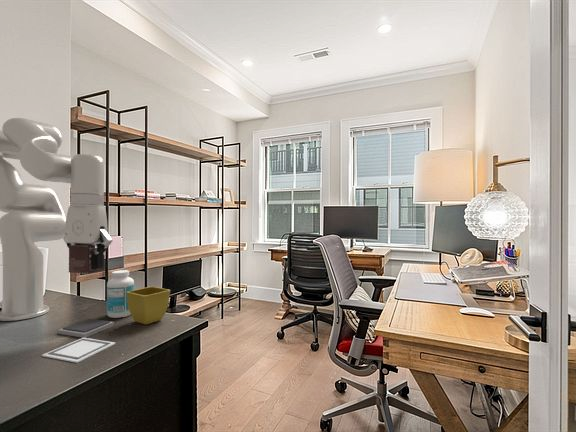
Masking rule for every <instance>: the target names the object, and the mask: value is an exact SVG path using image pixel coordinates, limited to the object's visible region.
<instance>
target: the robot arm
mask: <svg viewBox="0 0 576 432" xmlns="http://www.w3.org/2000/svg"><path fill="white" fill-rule="evenodd" d="M62 142H63V135H62V133H61V132H60V130H59V129H58V128H57V127H56V126H54V125H52V124H48V123H44V122H41V121H36V120H33V119H27V118H23V117H12V118H9V119H6V121H5V122H4V123H3V124H2V127H1V129H0V212H3V213H5V214H3V215H2V216H1V217H0V244H1V252H2V300H1V301H0V307H1V311H0V321H1V322H13V321H20V320H27V319H33V318H37V317H40V316H42V315H45V314H47V313H48V312H50V306H49V305H46V304H44V256H43V253H42V251H41V250H40V249H39V247H38V245H36V244H35V243H38V242H50V241H51V242H52V241H59V240H62V239H63V241H64V243H65V244H66V247H67V248H68V249H69V245H76V244H91V246H92V250H93V253H94V254H92V269H94V270H95V269H100V268H103V264H104V253H105V254H106V252H107V250H108V248H109V246H110V245H111V244H112V243H113V238H111V236H110V235H109V234H108V232H109V231H108V218H107V211H106V207H105V162H104V159H103V157H101V156H98V155H96V154H95V155H93V154H86V153H85V154H84V153H82V154H81V153H80V154H79V153H78V154H75V155H72V156H71V155H65V154H59V153H58V151H59V149H60V147H61V145H62ZM4 158H5V159H4ZM6 159H12V160H19V162H20V165H21V167H22V168H23V169H24V170H25V171H26V172H27V173H28V174H29V175H30V176H32V177H33V178H34V179H36V180H40V181H44V182H53V183H62V184H63V183H66V184H70V205H69V206H68V209H67V212H66V213H65V211H64V208H63V206H62V204H61V201H60V199H59V197H58V196H57V194H56V193H57V192H55V191H54V189H52V188H50V187H49V186H46V185H40V184H31V183H26V182H25V181H24V179H23V177H22V176H21V175H22V174H20V171H19V170H18V169H17V168H16V167H15V166H14V165H13V164H11V163H10V161H8V160H6ZM97 245H99V247H98V248H97Z"/></svg>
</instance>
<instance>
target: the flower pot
mask: <svg viewBox="0 0 576 432" xmlns="http://www.w3.org/2000/svg"><path fill="white" fill-rule="evenodd" d="M126 293H127V301H128V308H129V311H130V314H131V315H130V316H131V317H132V318H133V320H134V321H135V323H139V324H143V325H149V324H152V323H154V322H156V323H157V322H159V321H161V320H162V319H163V317H165V314H166V312H167V310H168V308H169V307H168V306H169V302H170V296H171V295H170V294H171V289H167V288H162V287H158V286H152V285H151V286H148V287H142V288H138V289H134V290H132V291H128V292H126Z"/></svg>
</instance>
